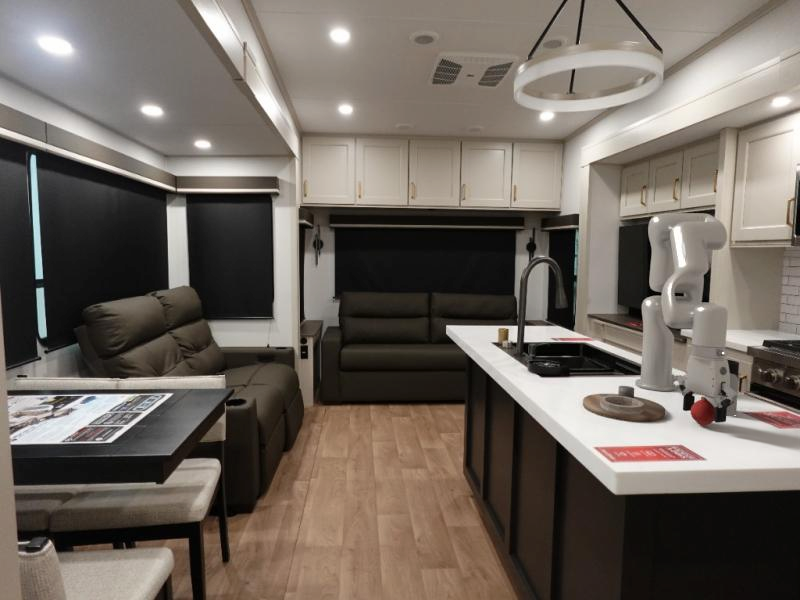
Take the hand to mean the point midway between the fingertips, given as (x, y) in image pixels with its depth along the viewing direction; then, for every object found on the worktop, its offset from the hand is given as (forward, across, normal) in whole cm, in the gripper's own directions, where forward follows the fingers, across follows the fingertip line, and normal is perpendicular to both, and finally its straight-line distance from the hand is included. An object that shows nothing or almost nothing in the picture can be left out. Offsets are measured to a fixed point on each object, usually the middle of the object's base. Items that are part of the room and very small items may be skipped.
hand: (703, 415), depth 128 cm
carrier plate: (+3, +17, +11) cm, 21 cm away
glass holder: (+3, +11, -17) cm, 21 cm away
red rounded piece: (+3, 0, 0) cm, 3 cm away
